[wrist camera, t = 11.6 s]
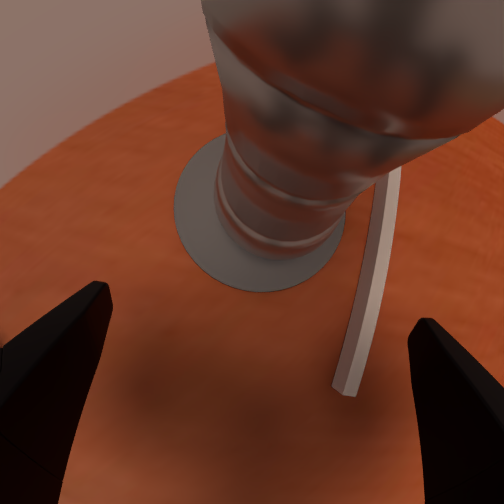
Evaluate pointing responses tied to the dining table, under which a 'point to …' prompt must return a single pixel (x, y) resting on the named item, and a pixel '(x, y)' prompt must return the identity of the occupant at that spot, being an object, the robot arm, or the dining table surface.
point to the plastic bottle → (340, 103)
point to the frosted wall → (369, 286)
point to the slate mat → (222, 245)
